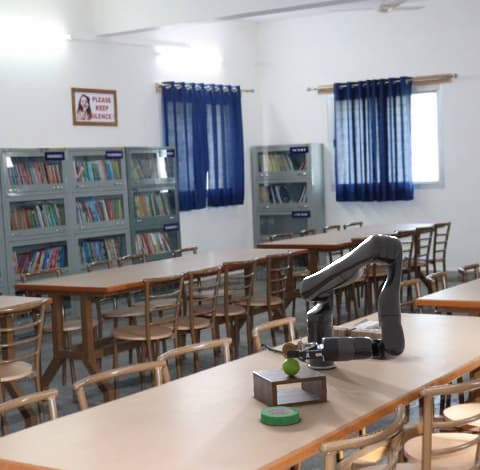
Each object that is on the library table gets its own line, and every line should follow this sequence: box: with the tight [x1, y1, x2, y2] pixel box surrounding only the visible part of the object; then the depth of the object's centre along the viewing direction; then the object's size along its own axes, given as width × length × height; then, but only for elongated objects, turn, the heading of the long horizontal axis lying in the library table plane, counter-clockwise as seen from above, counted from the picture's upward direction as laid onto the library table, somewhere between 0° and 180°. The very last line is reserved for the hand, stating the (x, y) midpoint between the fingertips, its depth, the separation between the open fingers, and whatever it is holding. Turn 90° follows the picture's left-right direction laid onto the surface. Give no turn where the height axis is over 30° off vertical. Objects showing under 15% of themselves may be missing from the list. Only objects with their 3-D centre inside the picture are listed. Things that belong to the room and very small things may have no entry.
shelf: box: [252, 365, 328, 407], centre depth 293 cm, size 16×18×8 cm
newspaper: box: [350, 318, 381, 330], centre depth 396 cm, size 35×12×4 cm, turn 143°
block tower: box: [333, 325, 382, 339], centre depth 367 cm, size 8×8×29 cm
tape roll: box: [260, 406, 300, 426], centre depth 270 cm, size 11×11×3 cm
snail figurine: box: [281, 336, 303, 376], centre depth 290 cm, size 5×6×12 cm
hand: (285, 351), depth 290 cm, fingers open, 8 cm apart
